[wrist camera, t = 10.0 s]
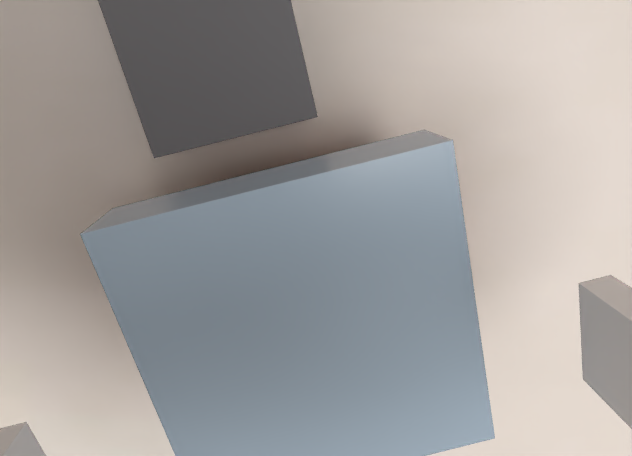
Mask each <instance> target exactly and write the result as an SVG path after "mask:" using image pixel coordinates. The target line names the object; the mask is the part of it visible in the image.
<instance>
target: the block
mask: <svg viewBox="0 0 632 456" xmlns="http://www.w3.org/2000/svg"><path fill="white" fill-rule="evenodd" d="M98 1H99V4H100V7H101V10H102V13H103V15H104V18H105V21H106V24H107V27H108V29H109V32H110V35H111V38H112V41H113V44H114V46H115V49H116V52H117V55H118V58H119V60H120V63H121V66H122V69H123V72H124V75H125V77H126V80H127V83H128V86H129V89H130V91H131V94H132V97H133V100H134V103H135V106H136V108H137V111H138V114H139V117H140V120H141V123H142V125H143V128H144V131H145V134H146V137H147V139H148V142H149V145H150V148H151V151H152V154H153V156H154V158H157V157H161V156H165V155H169V154H173V153H177V152H181V151H185V150H189V149H193V148H196V147H200V146H204V145H208V144H212V143H216V142H220V141H224V140H228V139H232V138H236V137H240V136H244V135H248V134H252V133H256V132H260V131H264V130H268V129H272V128H276V127H280V126H284V125H288V124H292V123H296V122H300V121H304V120H308V119H311V118H315V117H318V116H317V112H316V108H315V103H314V99H313V95H312V91H311V86H310V82H309V78H308V73H307V69H306V65H305V60H304V56H303V52H302V47H301V43H300V39H299V34H298V30H297V26H296V22H295V17H294V13H293V9H292V4H291V0H98Z"/></svg>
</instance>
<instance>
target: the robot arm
mask: <svg viewBox="0 0 632 456" xmlns="http://www.w3.org/2000/svg"><path fill="white" fill-rule="evenodd" d="M579 303H580V325H581V348H582V371H583V380H584V381H585V382H586V383H587V384H588V385H589V386H590V387H591V388H592V389H593V390H594V391H595V392H596V393H597V394H598V395H599V396H600V397H601V398H602V399H603V400H604V401H605V402H606V403H607V404H608V405H609V406H610V407H611V408H612V409H613V410H614V411H615V412H616V413H617V414H618V415H619V416H620V417H621V419H622V420H623V421H624V422H625V423H626V424H627V425H628V426H629V427H630V428H631V429H632V288H631V287H629V286H628V285H626V284H625V283H623V282H621V281H620V280H618V279H617V278H615V277H613V276H612V275H609V276H605V277H601V278H597V279H593V280H589V281H585V282H581V283H579ZM0 456H46V455H45V453H44V452H43V450H42V448H41V446H40V445H39V443H38V441H37V439H36V438H35V436H34V434H33V432H32V431H31V429H30V427H29V425H28V424H27V422H24V423H20V424H16V425H12V426H8V427H4V428H0Z"/></svg>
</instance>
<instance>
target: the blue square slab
mask: <svg viewBox="0 0 632 456" xmlns="http://www.w3.org/2000/svg"><path fill="white" fill-rule="evenodd" d="M80 235H81V237H82V240H83V242H84V244H85V247H86V249H87V251H88V254H89V256H90V258H91V261H92V263H93V265H94V268H95V270H96V272H97V275H98V277H99V279H100V282H101V284H102V286H103V288H104V291H105V293H106V295H107V298H108V300H109V302H110V305H111V307H112V309H113V312H114V314H115V316H116V319H117V321H118V323H119V326H120V328H121V330H122V333H123V335H124V337H125V340H126V342H127V344H128V347H129V349H130V351H131V354H132V356H133V358H134V360H135V363H136V365H137V367H138V370H139V372H140V374H141V377H142V379H143V381H144V384H145V386H146V388H147V391H148V393H149V395H150V398H151V400H152V402H153V405H154V407H155V409H156V412H157V414H158V416H159V419H160V421H161V423H162V426H163V428H164V430H165V432H166V435H167V437H168V439H169V442H170V444H171V446H172V449H173V451H174V453H175V456H426V455H430V454H434V453H438V452H442V451H446V450H450V449H454V448H458V447H462V446H466V445H470V444H474V443H478V442H482V441H486V440H490V439H494V438H495V435H494V428H493V421H492V414H491V407H490V400H489V393H488V386H487V379H486V371H485V364H484V357H483V350H482V343H481V336H480V329H479V322H478V315H477V308H476V300H475V293H474V286H473V279H472V272H471V265H470V258H469V251H468V244H467V237H466V229H465V222H464V215H463V208H462V201H461V194H460V187H459V180H458V173H457V165H456V158H455V151H454V144H453V140H451V139H448V138H446V137H443V136H440V135H437V134H435V133H432V132H429V131H426V130H421V131H417V132H413V133H409V134H405V135H401V136H397V137H393V138H389V139H385V140H382V141H378V142H374V143H370V144H366V145H362V146H358V147H354V148H350V149H346V150H342V151H338V152H334V153H330V154H326V155H322V156H318V157H314V158H310V159H306V160H302V161H298V162H294V163H290V164H286V165H282V166H278V167H274V168H270V169H266V170H263V171H259V172H255V173H251V174H247V175H243V176H239V177H235V178H231V179H227V180H223V181H219V182H215V183H211V184H207V185H203V186H199V187H195V188H191V189H187V190H183V191H179V192H175V193H171V194H167V195H163V196H159V197H155V198H151V199H147V200H144V201H140V202H136V203H132V204H128V205H124V206H120V207H116V208H112V209H111V210H110V211H109V212H107V213H106V214H105V215H104V216H102V217H101V218H100V219H99V220H97V221H96V222H95V223H93V224H92V225H91V226H90V227H88V228H87V229H86V230H85V231H83V232H82V233H81V234H80Z"/></svg>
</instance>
